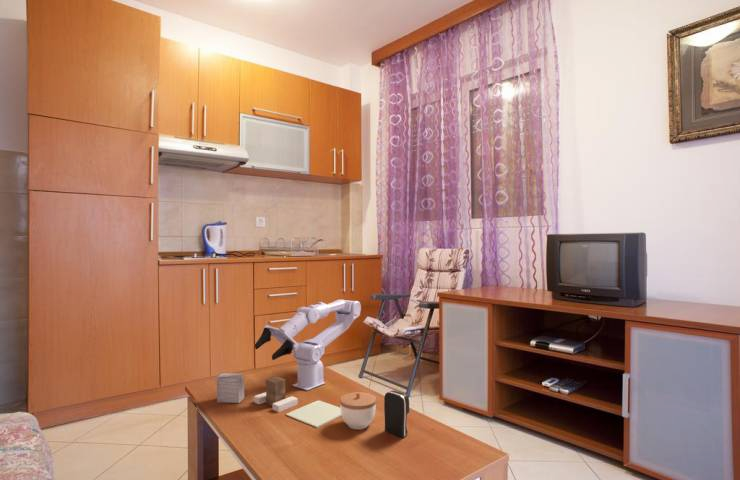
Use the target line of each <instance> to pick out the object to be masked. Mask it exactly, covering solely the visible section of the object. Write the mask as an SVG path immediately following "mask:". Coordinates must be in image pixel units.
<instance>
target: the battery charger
mask: <svg viewBox="0 0 740 480" xmlns="http://www.w3.org/2000/svg"><path fill="white" fill-rule="evenodd" d="M383 397H384V400H383V407H384V408H383V413H384V431H385V432H387V433H389V434H391V435H393V436H397V437H399V438H405V437H406V436H407V435H408V430H407V419H408V418H407V417H408V414H409V413H410V397H409V396H408V394H406V393H404V392H401V391H398V390H397V391H396V390H390V391H387V392H386V393H385V394H384V396H383Z"/></svg>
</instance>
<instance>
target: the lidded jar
mask: <svg viewBox="0 0 740 480" xmlns="http://www.w3.org/2000/svg"><path fill="white" fill-rule="evenodd" d="M339 403H340V408H341V415H342V416H341V418H342V420H343V422H344V423H345V424H346V425H347V427H348V428H350V429H352V430H364V429H367V427H369V425H370V424H371V423H372V421H373V420H374V418H375V415H376V410H377V409H376V407H377V405H376V404H377V398H376V396H375V395H373V394H371V393H370V392H363V391H354V392H353V391H352V392H349V393H346V394H343V395H342V396H341V397H340V399H339Z"/></svg>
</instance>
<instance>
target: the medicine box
mask: <svg viewBox="0 0 740 480" xmlns="http://www.w3.org/2000/svg"><path fill="white" fill-rule="evenodd" d="M244 377H245V375H244V373H230V372H229V373H221V374H219V375H217V377H216V403H230V404H231V403H232V404H240V403H241V402H242V401H243V400H244V399H245V378H244Z"/></svg>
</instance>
